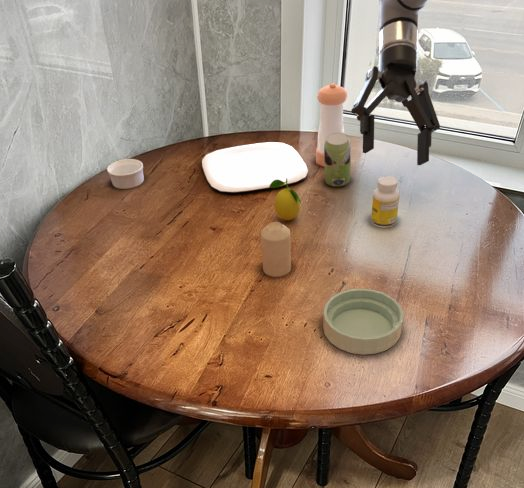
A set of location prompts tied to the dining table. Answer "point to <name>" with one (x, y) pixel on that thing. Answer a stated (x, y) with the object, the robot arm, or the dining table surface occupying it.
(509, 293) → the dining table surface
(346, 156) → the beverage can
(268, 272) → the candle
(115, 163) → the ramekin
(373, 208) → the supplement bottle
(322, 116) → the pepper shaker
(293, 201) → the lemon
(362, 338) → the bowl
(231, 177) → the plate
